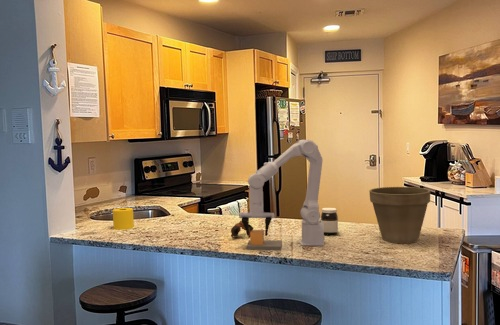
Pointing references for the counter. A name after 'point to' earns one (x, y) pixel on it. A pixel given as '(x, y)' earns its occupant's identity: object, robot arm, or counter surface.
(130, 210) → the yellow toilet paper roll
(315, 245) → the robot arm
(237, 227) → the brown curved arch
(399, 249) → the counter surface
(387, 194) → the plant pot
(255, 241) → the solid orange cube
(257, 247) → the grey flat block
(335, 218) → the spread jar
